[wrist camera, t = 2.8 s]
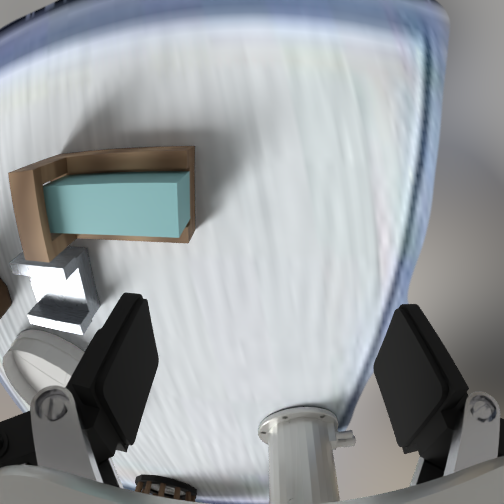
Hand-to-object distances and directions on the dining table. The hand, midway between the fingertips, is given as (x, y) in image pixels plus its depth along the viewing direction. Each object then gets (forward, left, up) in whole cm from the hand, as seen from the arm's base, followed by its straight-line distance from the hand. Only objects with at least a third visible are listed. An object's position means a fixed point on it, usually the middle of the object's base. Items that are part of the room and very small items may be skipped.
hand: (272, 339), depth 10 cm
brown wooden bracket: (+13, 0, -18) cm, 22 cm away
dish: (+30, +31, -19) cm, 47 cm away
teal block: (+12, 0, -14) cm, 18 cm away
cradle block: (+22, +10, -18) cm, 30 cm away
